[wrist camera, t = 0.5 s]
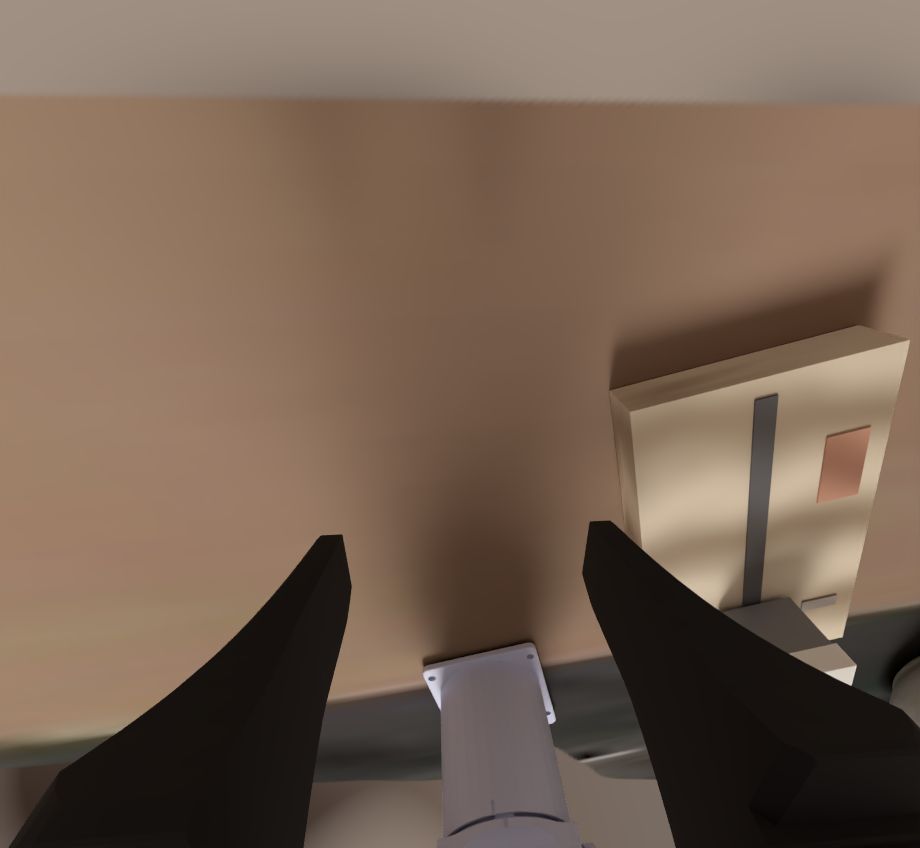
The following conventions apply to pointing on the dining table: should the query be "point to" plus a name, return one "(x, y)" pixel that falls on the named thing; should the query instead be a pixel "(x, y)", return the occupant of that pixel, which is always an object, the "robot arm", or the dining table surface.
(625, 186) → the dining table surface
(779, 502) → the console
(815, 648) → the fader
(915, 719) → the teacup
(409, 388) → the dining table surface
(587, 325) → the dining table surface
